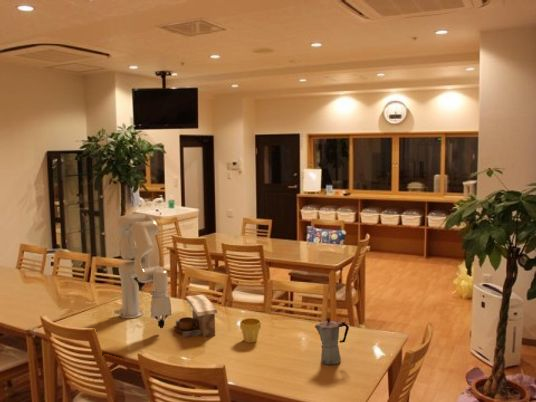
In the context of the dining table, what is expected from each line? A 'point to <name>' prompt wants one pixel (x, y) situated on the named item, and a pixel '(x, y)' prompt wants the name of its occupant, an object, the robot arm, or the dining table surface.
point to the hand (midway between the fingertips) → (161, 327)
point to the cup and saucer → (186, 325)
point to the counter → (201, 316)
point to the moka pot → (330, 340)
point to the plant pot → (250, 329)
